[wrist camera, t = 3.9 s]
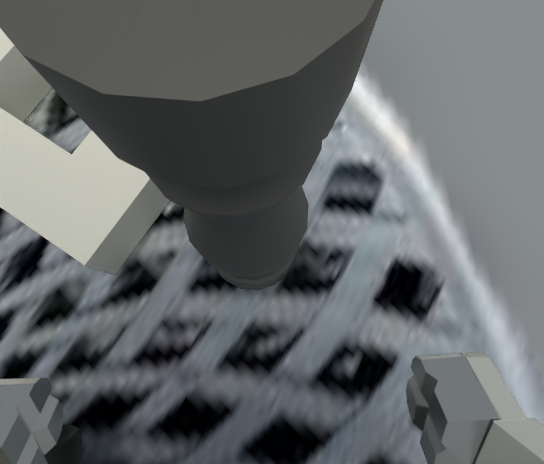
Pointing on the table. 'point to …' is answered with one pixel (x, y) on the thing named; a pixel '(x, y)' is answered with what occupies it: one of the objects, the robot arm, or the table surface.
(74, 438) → the muzzle brake
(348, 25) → the candle holder
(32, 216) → the socket block
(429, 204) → the table surface
